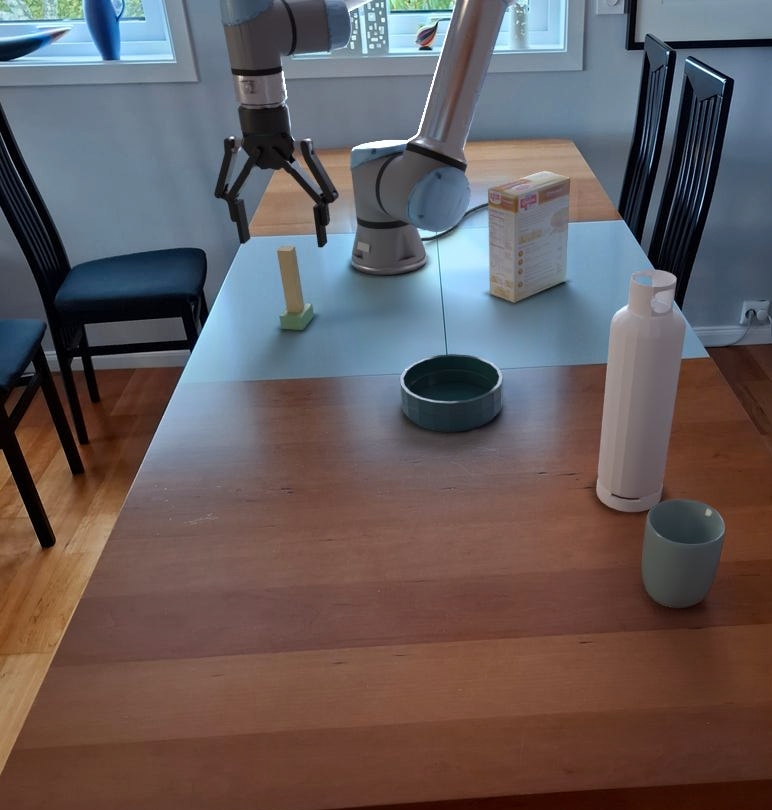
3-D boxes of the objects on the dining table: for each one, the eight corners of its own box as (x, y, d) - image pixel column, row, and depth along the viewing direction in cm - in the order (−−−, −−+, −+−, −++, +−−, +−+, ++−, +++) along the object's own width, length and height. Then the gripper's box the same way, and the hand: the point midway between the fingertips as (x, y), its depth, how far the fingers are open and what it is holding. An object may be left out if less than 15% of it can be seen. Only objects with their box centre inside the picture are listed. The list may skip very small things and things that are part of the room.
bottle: (620, 519, 98) (645, 298, 81) (583, 485, 103) (599, 272, 86) (674, 500, 101) (709, 283, 84) (635, 468, 106) (660, 259, 89)
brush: (293, 315, 147) (280, 241, 139) (314, 316, 146) (303, 242, 138) (281, 329, 142) (268, 254, 134) (303, 330, 142) (291, 255, 134)
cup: (629, 572, 90) (638, 500, 84) (697, 567, 90) (711, 495, 84) (646, 622, 84) (658, 548, 78) (720, 616, 84) (737, 543, 78)
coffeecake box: (540, 272, 162) (543, 169, 150) (567, 281, 158) (572, 177, 146) (487, 293, 154) (486, 187, 142) (514, 303, 149) (515, 195, 138)
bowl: (414, 380, 126) (412, 351, 123) (508, 386, 124) (508, 357, 121) (391, 430, 115) (388, 399, 112) (494, 437, 113) (494, 406, 110)
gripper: (174, 106, 122) (204, 247, 134) (333, 110, 118) (349, 254, 131) (195, 97, 127) (222, 232, 140) (348, 100, 124) (361, 238, 137)
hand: (283, 243), depth 136 cm, fingers open, 13 cm apart
